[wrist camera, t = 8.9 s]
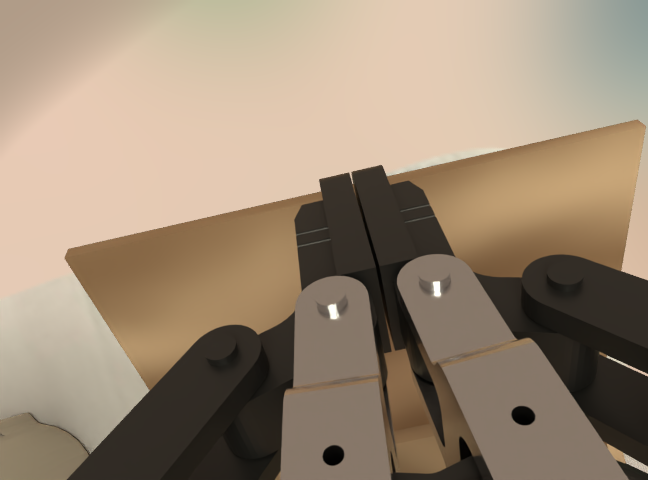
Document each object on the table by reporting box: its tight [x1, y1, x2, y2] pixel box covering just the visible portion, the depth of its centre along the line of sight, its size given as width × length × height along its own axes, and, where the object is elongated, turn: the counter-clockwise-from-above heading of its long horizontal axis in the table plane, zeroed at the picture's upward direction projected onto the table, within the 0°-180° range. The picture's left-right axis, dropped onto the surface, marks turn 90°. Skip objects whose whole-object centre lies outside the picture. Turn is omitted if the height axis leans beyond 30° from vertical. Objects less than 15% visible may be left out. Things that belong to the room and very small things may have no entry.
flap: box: [65, 120, 646, 431], centre depth 22 cm, size 14×20×1 cm
